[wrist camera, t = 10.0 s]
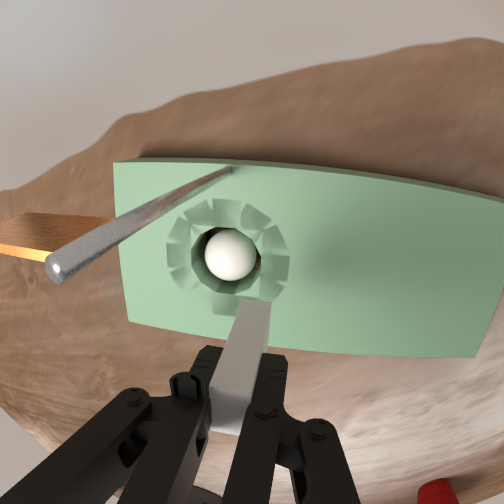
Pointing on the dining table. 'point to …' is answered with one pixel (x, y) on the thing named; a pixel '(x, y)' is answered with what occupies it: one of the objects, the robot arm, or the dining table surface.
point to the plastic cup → (437, 493)
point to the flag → (88, 230)
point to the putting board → (318, 256)
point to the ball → (230, 254)
